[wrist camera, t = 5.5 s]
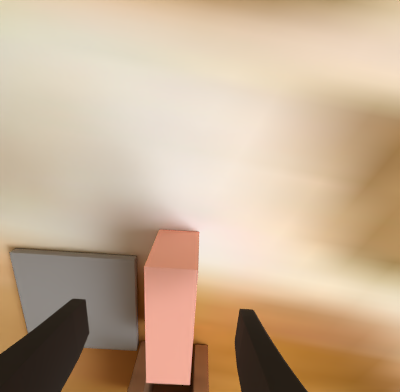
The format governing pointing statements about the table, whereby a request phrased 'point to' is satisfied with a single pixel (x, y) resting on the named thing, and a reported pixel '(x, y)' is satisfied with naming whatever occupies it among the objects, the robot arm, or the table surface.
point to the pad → (81, 292)
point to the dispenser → (200, 385)
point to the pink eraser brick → (170, 306)
